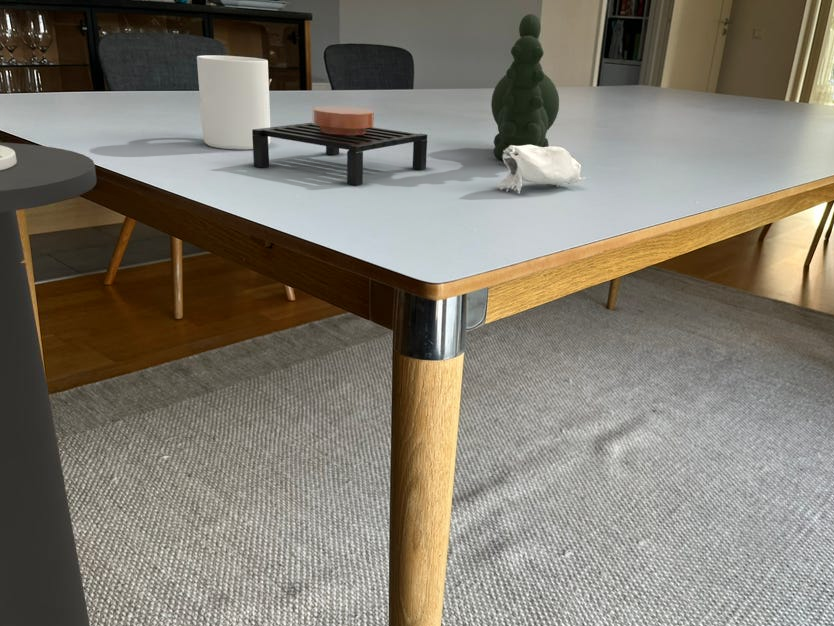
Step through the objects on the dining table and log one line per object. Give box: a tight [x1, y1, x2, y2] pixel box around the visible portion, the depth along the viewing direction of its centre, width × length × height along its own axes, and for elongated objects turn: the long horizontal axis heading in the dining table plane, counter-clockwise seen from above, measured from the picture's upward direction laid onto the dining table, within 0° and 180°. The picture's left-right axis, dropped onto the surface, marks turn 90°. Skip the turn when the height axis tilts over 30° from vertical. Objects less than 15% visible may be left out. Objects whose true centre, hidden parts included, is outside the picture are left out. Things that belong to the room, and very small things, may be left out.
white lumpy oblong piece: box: [499, 145, 586, 195], centre depth 84 cm, size 5×7×10 cm
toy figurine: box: [490, 13, 560, 161], centre depth 101 cm, size 9×19×25 cm
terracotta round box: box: [311, 105, 375, 135], centre depth 86 cm, size 7×7×2 cm
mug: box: [196, 54, 272, 151], centre depth 97 cm, size 12×8×10 cm
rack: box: [252, 122, 428, 186], centre depth 88 cm, size 14×14×4 cm
